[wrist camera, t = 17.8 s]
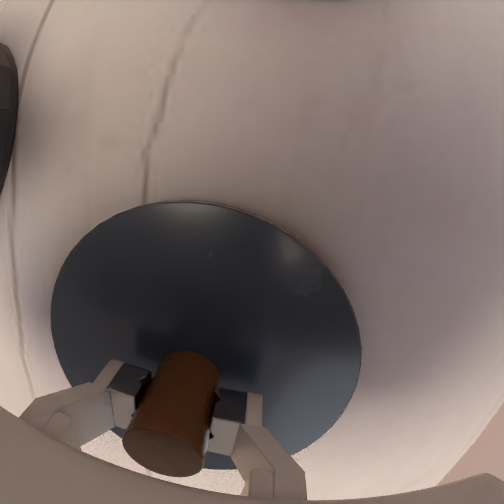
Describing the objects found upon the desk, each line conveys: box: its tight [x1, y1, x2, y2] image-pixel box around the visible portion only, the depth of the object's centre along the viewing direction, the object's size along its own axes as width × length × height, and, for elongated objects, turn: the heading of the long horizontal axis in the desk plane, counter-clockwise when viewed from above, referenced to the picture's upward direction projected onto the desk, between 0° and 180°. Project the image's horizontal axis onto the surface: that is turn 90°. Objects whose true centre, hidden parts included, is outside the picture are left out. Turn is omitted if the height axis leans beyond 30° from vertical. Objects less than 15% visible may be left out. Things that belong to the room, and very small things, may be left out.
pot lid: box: [51, 200, 361, 477], centre depth 9 cm, size 13×13×5 cm
